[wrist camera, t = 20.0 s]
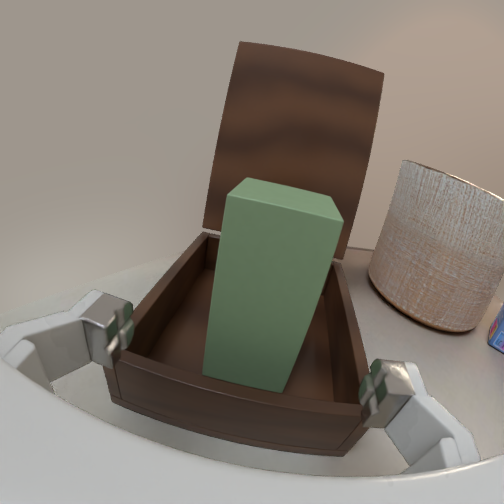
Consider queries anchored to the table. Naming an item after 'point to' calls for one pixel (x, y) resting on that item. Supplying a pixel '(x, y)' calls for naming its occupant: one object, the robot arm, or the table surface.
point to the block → (267, 281)
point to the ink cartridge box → (497, 331)
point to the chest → (235, 395)
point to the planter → (439, 249)
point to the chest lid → (296, 128)
